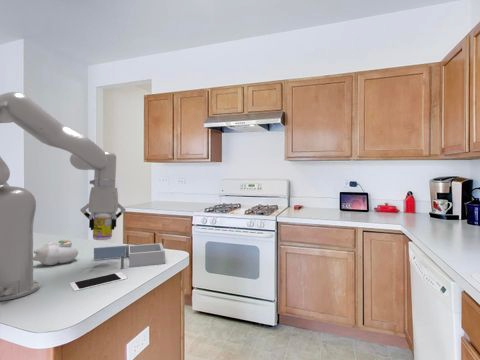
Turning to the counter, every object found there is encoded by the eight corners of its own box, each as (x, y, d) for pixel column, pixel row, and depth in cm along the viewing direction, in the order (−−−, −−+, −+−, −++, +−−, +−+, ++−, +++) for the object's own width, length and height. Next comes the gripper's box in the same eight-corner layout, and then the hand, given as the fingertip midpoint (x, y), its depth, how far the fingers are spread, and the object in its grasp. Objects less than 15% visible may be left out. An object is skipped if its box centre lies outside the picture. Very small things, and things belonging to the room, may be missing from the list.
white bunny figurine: (79, 236, 114) (35, 237, 104) (82, 250, 108) (35, 252, 99) (74, 253, 117) (30, 256, 107) (76, 267, 112) (31, 271, 102)
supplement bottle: (88, 239, 105) (90, 205, 106) (104, 236, 111) (105, 205, 111) (100, 241, 102) (101, 207, 102) (115, 238, 108) (116, 206, 108)
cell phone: (128, 279, 94) (128, 277, 94) (74, 292, 83) (74, 290, 83) (120, 273, 99) (120, 271, 99) (69, 284, 89) (69, 282, 89)
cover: (128, 257, 117) (128, 245, 117) (93, 260, 112) (93, 248, 112) (128, 256, 118) (128, 244, 118) (94, 259, 113) (94, 247, 113)
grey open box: (164, 264, 109) (164, 251, 109) (120, 268, 103) (120, 255, 103) (161, 254, 122) (161, 243, 122) (122, 257, 116) (122, 246, 116)
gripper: (77, 183, 100) (75, 231, 100) (128, 184, 107) (126, 230, 106) (81, 183, 107) (79, 228, 107) (128, 184, 114) (127, 227, 113)
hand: (102, 229), depth 107 cm, fingers closed on supplement bottle, 6 cm apart
